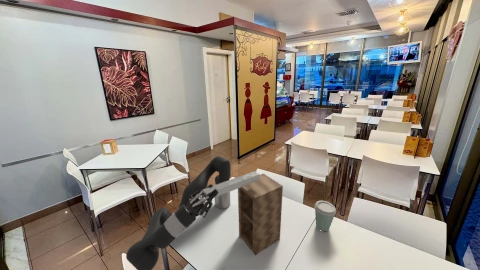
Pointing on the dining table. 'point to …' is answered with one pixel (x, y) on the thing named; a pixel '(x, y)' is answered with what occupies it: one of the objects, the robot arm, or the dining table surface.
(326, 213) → the disposable coffee cup
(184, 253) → the dining table surface
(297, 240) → the dining table surface
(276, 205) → the walnut shelf
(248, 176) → the metal bar
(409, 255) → the dining table surface
